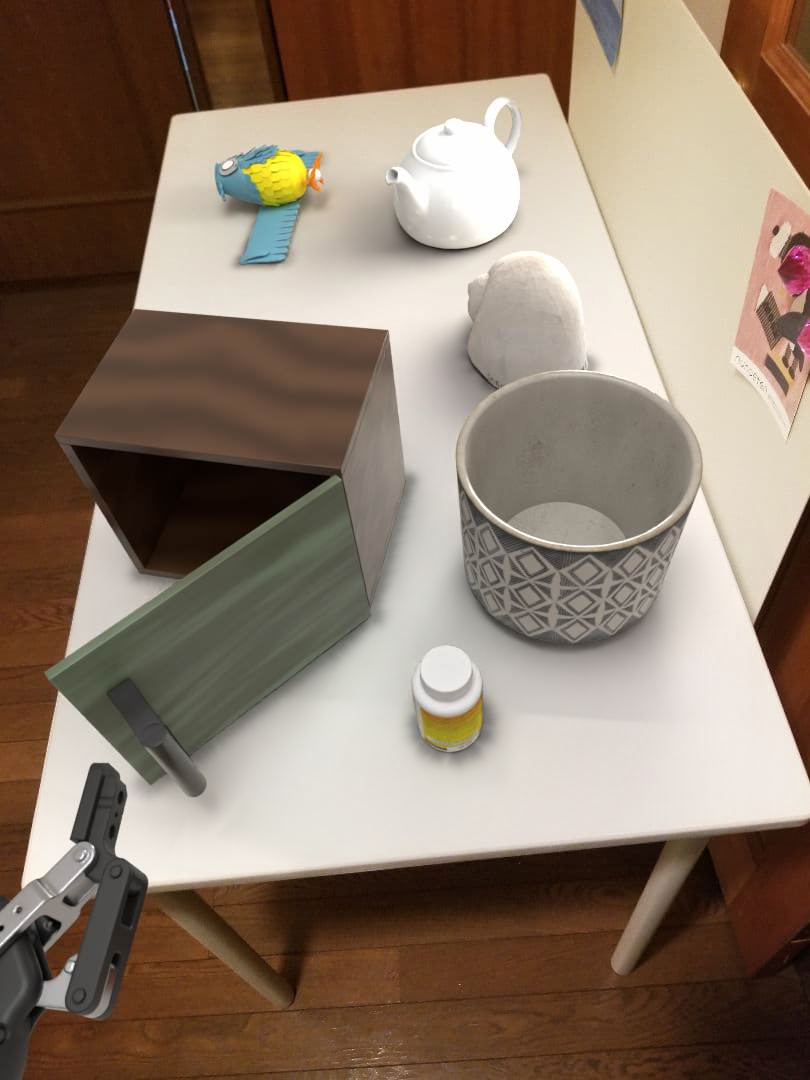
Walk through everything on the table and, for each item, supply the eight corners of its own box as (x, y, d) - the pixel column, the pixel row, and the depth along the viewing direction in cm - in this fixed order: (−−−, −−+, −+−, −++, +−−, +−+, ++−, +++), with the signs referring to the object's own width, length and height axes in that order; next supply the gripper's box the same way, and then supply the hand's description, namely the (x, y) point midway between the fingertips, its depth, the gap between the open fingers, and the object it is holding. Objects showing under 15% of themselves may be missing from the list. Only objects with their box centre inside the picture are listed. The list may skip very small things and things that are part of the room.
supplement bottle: (494, 736, 68) (496, 682, 60) (435, 765, 67) (429, 714, 58) (463, 682, 71) (461, 624, 63) (406, 709, 70) (396, 653, 62)
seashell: (539, 353, 105) (478, 255, 99) (631, 325, 95) (570, 213, 88) (486, 427, 98) (417, 326, 91) (580, 404, 87) (510, 288, 81)
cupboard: (370, 608, 76) (340, 469, 60) (139, 573, 81) (53, 435, 65) (406, 480, 85) (388, 329, 69) (196, 455, 90) (134, 308, 74)
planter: (688, 525, 79) (729, 404, 66) (628, 689, 69) (663, 586, 56) (505, 469, 85) (509, 347, 72) (427, 612, 75) (415, 502, 62)
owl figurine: (296, 204, 102) (183, 207, 104) (309, 263, 109) (203, 265, 111) (332, 96, 118) (234, 101, 120) (342, 153, 125) (249, 157, 127)
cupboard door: (412, 657, 73) (393, 525, 57) (186, 839, 65) (91, 745, 49) (365, 610, 76) (335, 473, 60) (145, 778, 68) (43, 672, 52)
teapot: (530, 252, 107) (536, 152, 96) (392, 261, 108) (382, 163, 97) (519, 176, 118) (523, 78, 107) (394, 185, 119) (385, 89, 108)
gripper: (20, 1209, 26) (137, 737, 36) (-378, 1184, 28) (-162, 734, 37) (106, 1194, 32) (186, 793, 42) (-223, 1174, 34) (-72, 789, 43)
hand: (23, 766), depth 39 cm, fingers open, 8 cm apart
